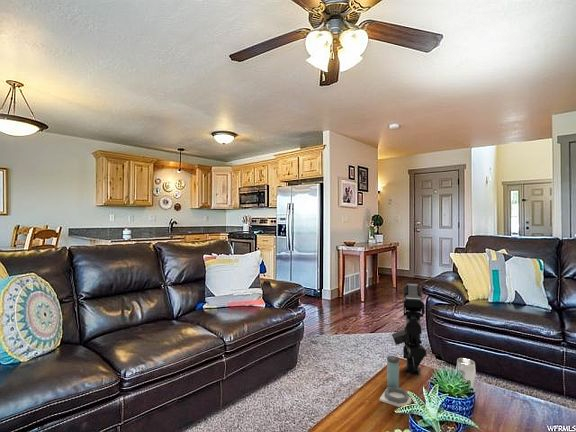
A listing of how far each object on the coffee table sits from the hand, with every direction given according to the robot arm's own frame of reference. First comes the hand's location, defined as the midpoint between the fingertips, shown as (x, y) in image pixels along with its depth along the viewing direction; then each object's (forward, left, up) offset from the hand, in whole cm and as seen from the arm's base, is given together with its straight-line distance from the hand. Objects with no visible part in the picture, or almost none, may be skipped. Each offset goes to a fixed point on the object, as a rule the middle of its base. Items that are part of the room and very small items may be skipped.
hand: (413, 363), depth 138 cm
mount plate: (+7, -5, -13) cm, 16 cm away
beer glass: (-10, +19, -13) cm, 25 cm away
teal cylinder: (-2, -9, -13) cm, 16 cm away
